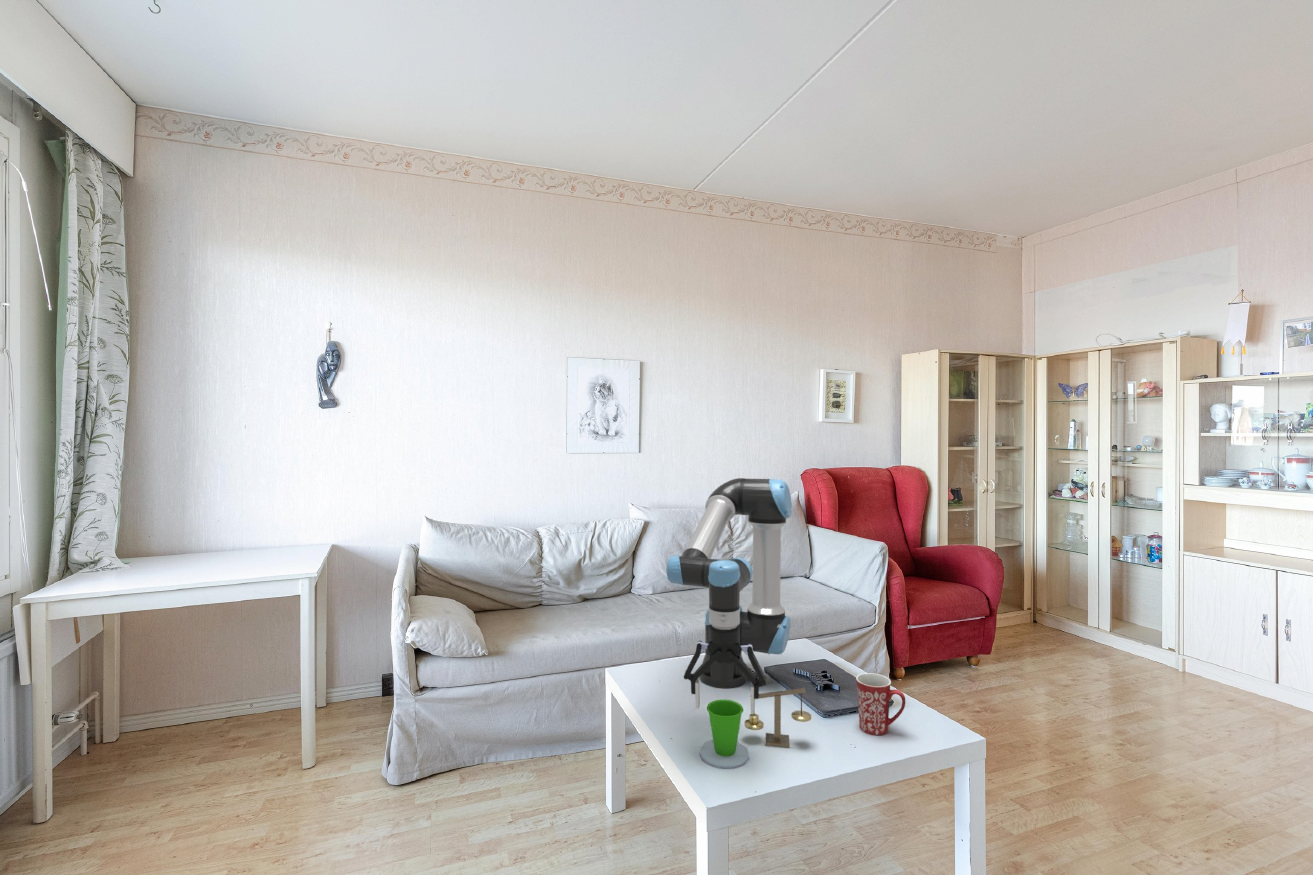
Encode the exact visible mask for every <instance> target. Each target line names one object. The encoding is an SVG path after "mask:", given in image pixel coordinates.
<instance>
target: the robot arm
mask: <svg viewBox="0 0 1313 875" xmlns="http://www.w3.org/2000/svg"><path fill="white" fill-rule="evenodd" d="M789 487H790V486H789V485H788V483H787V482H786V481H784V480H782V479H774V478H743V477H742V478H741V477H738V478H733V479H730V480H728V481H726V482H724V483H722V484H720V486H718V487H717V488H715V489H714V491H712V492H711V493H710V494H709V495H708V496H709V497H708V498H707V500H706V502H705V507H704V508H705V510H704V513H703V515H702V516H701V518H700V520H699V522H698V524H697V526H696V528H695V530H694V532H693V534H692V535H691V538H689V539H690V540H689V541H688V543H687V545H686V547H685V549H684V550H683V552H682V554H681V555H679V554H678V555H672V556H670V557H669V558H668V560H667V565H666V578H667V580H668V581H669V582H670V583H671V584H675V585H681V586H690V587H700V588H702V587H703V588H708V603H709V604H708V609H707V610H706V611H705V622H704V629H705V630H704V632H705V634H704V635H705V636H704V637H705V639H704V640H705V642H703V641H702V640H698V641H697V643H696V648H695V652H694V654H693V656H692V658H691V660H690V662H689V663H688V666H687V667H686V670H685V671H684V674H683V679H684V680H688V681H690V693H691V695H695V696H694V697H695V699H694V700H695V702H694V704H695V710H699V708H700V706H701V704H700V703H701V699H700V697H701V693H700V692H701V691H700V687H701V685H700V684H701V683H700V681H701V682H702V683H704V684H706V685H708V686H710V687H714V688H723V689H729V688H731V689H732V688H737V687H740V686H743V685H744V684H746V682H747V681H749V682H750V696H751V697H750V714H754V699H755V700H758V698H759V694H760V686H765V685H766V684H767V676H766V674H765V673H764V671H763V669H762V666H761V664H760V663H759V661H758V659H757V657H756V655H755V653H762V654H767V655H782V654H783V653H784V652H785V650H786V648H787V645H788V641H789V638H790V632H791V624H792V623H791V618H790V617H789V616H787V615H786V608H784V606H782V605H781V564H782V563H781V560H782V558H781V557H782V556H781V554H782V553H781V552H782V549H781V547H782V546H781V545H782V543H781V542H782V540H781V537H782V528H783V527H784V526H785V525H786V523H787V519H788V518H790V517H791V516H792V512H793V511H792V507H793V506H792V504H793V503H792V496H791V492H790V488H789ZM738 515H739V516H740V515H742V516H748V517H747V519H748V520H747V521H748V523H749V524H750V526H752V565H751V564H750V562H749V561H747V559H745V558H743V557H734V558H731V559H729V560H727V559H717V558H712V555H713V554H714V552H715V549H716V547H717V545H718V543H719V541H720V539H721V536H722V535H723V533H724V530H726V529H725V528H726V527H727V524H728V523H729V522H730V521H731V520H732V519H733V518H734V517H735V516H738ZM751 579H752V602H751V604H749V605H748V606H747V611H743V608H742V606H741V605H740V602H741V600H740V598H741V597H740V594H741V593H740V592H742V590H743V589H745V587H747V586H748V585H749V583H750V581H751ZM703 652H705V653H704V657H703V660H702V662H701V664H700V666H698V667H697V669H696V670H695V671H694V672H693V670H694V668H695V666H696V663H697V662H698V660H699V658H700V657H701V653H703ZM742 652H744V653H743V654H745V655H746V656H747V658H748V660H749V662H750V664H751V666H752V668H753V669H754V672H755V673H754V672H753V670H751V669H750V667H749V666H748V665H747V663H745V661H744V659H743V655H742ZM692 672H693V673H692ZM759 699H760V698H759Z"/></svg>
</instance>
